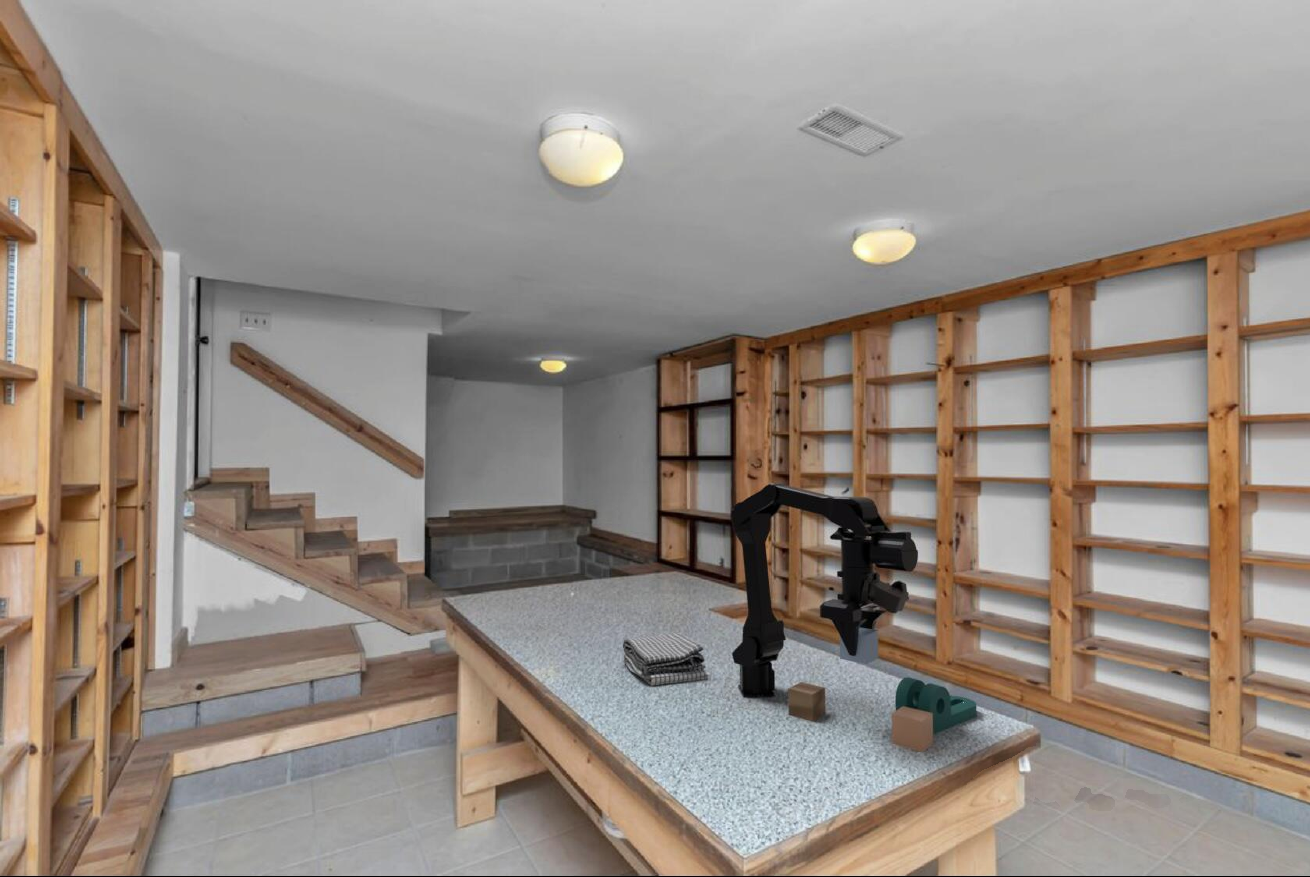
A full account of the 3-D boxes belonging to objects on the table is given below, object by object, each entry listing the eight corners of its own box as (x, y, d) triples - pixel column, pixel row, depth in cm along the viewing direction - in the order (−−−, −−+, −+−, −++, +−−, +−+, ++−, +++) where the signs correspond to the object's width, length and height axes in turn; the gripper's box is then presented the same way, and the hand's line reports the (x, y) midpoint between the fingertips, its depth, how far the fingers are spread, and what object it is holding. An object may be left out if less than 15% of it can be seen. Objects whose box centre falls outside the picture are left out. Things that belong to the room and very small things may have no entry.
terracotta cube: (922, 752, 105) (922, 721, 105) (892, 744, 108) (891, 713, 108) (933, 743, 108) (932, 712, 109) (903, 735, 112) (902, 706, 112)
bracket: (930, 736, 111) (929, 690, 112) (895, 724, 117) (894, 680, 117) (983, 714, 122) (982, 672, 122) (949, 704, 127) (948, 664, 128)
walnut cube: (812, 721, 118) (812, 694, 118) (788, 715, 121) (788, 688, 121) (825, 714, 122) (825, 687, 122) (801, 708, 125) (801, 682, 125)
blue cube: (866, 664, 113) (866, 635, 113) (840, 658, 116) (839, 630, 117) (878, 658, 117) (877, 630, 117) (852, 653, 120) (851, 626, 120)
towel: (678, 659, 159) (678, 627, 160) (710, 681, 142) (710, 645, 143) (620, 665, 154) (620, 632, 155) (645, 689, 137) (645, 651, 137)
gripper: (879, 576, 105) (881, 673, 104) (920, 564, 119) (922, 650, 118) (817, 569, 113) (819, 660, 112) (862, 559, 127) (864, 640, 126)
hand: (858, 652), depth 117 cm, fingers closed on blue cube, 5 cm apart
